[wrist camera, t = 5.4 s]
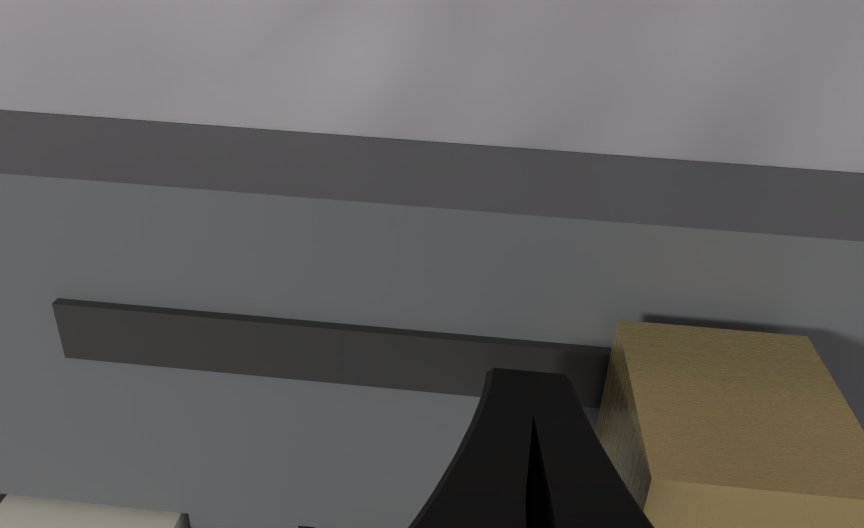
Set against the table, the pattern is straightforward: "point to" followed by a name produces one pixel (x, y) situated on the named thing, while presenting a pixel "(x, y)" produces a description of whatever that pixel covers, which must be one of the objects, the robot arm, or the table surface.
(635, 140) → the table surface
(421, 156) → the control panel
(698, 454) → the brass slider
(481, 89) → the table surface
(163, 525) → the ivory button
